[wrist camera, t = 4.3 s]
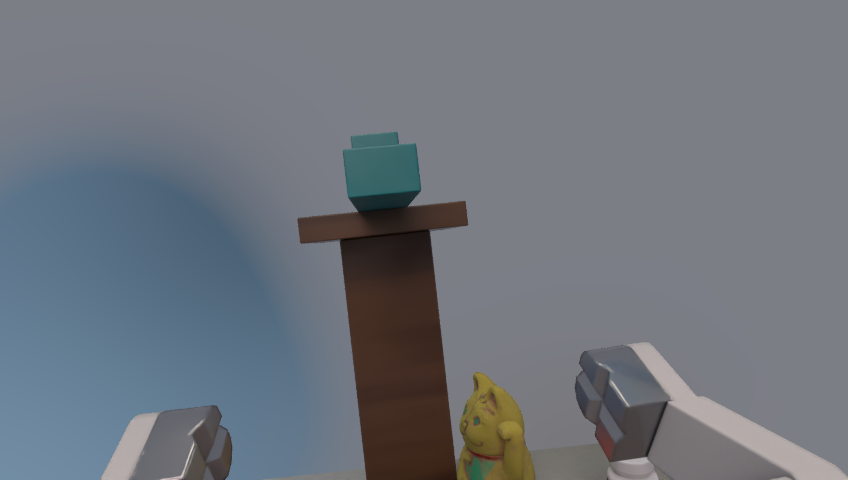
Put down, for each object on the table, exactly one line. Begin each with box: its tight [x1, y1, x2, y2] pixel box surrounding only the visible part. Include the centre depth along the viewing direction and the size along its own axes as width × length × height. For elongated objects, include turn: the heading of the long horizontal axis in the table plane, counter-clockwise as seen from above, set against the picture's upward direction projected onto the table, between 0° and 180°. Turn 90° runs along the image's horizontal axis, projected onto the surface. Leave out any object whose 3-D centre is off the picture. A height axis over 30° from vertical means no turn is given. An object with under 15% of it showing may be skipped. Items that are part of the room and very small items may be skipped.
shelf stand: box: [298, 201, 468, 480], centre depth 31 cm, size 10×10×34 cm
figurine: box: [457, 372, 535, 480], centre depth 49 cm, size 11×9×15 cm
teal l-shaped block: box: [343, 132, 421, 212], centre depth 25 cm, size 16×3×5 cm, turn 6°
